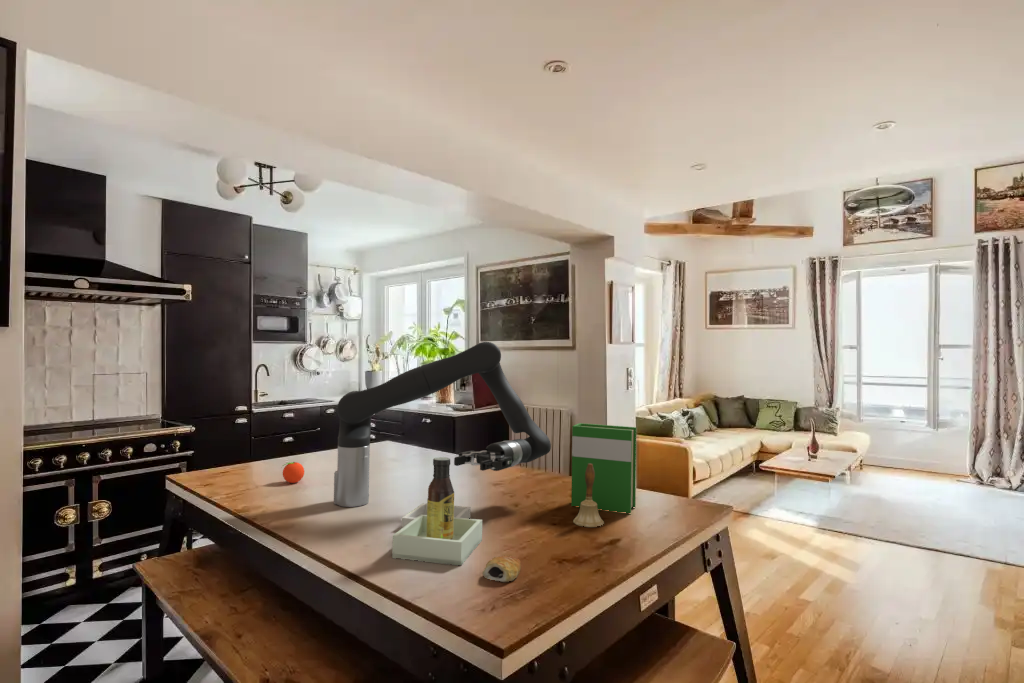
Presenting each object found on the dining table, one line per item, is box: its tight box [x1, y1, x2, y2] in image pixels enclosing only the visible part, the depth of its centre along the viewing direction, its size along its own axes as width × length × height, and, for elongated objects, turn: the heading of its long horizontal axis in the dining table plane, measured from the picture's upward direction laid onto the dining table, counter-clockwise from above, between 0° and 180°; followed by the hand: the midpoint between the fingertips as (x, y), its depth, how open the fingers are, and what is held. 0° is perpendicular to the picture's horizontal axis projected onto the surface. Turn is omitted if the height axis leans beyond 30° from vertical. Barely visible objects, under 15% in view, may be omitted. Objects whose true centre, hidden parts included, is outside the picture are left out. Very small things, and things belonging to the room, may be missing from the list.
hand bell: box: [572, 463, 605, 528], centre depth 147 cm, size 8×8×16 cm
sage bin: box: [391, 514, 483, 566], centre depth 126 cm, size 16×16×5 cm
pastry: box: [482, 555, 522, 583], centre depth 113 cm, size 9×7×4 cm
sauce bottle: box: [426, 456, 455, 540], centre depth 126 cm, size 6×6×20 cm
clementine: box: [282, 461, 305, 484], centre depth 184 cm, size 8×7×7 cm
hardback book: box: [570, 422, 637, 514], centre depth 162 cm, size 18×7×24 cm, turn 66°
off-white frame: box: [401, 502, 471, 529], centre depth 144 cm, size 14×14×3 cm
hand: (468, 464), depth 139 cm, fingers open, 8 cm apart
